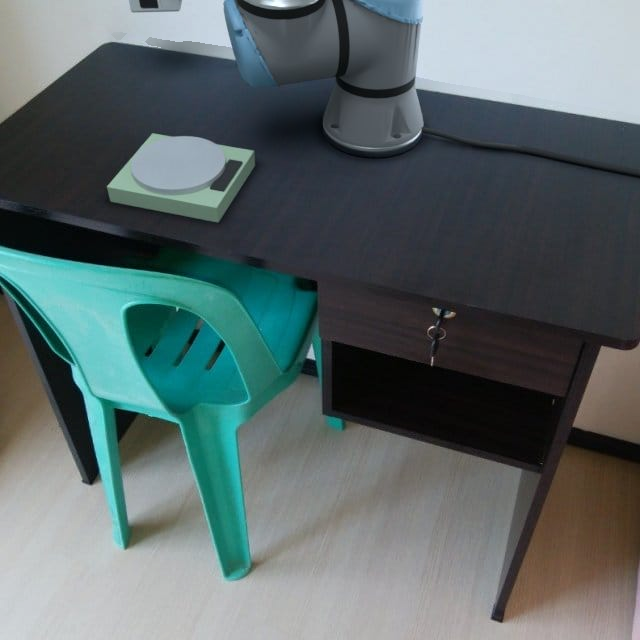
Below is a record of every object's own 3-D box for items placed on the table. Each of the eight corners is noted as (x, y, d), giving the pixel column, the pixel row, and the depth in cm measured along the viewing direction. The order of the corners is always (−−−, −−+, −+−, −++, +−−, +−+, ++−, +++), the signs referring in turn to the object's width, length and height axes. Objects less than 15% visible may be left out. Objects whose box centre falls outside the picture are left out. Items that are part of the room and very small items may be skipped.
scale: (255, 165, 109) (253, 144, 106) (218, 222, 100) (215, 201, 97) (155, 147, 112) (151, 127, 110) (110, 201, 103) (105, 180, 100)
